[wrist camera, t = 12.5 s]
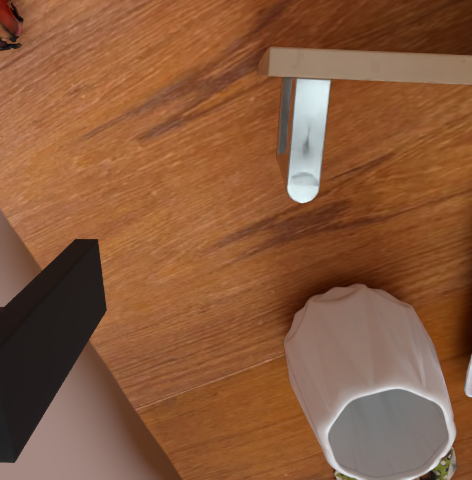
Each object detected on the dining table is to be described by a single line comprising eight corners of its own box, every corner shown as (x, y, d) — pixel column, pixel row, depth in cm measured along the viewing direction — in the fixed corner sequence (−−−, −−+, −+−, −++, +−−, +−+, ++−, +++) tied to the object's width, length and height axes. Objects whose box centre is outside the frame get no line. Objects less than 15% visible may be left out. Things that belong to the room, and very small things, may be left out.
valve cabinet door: (516, 160, 40) (849, 268, 18) (253, 148, 41) (257, 239, 18) (539, 74, 38) (963, 76, 15) (257, 62, 38) (269, 46, 16)
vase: (439, 304, 46) (523, 406, 32) (369, 400, 51) (415, 526, 37) (322, 250, 44) (356, 332, 30) (260, 355, 49) (265, 468, 35)
